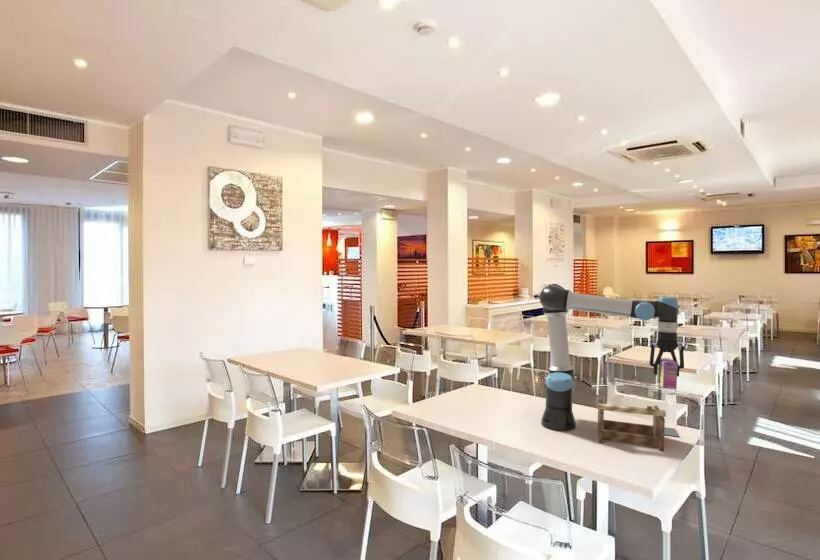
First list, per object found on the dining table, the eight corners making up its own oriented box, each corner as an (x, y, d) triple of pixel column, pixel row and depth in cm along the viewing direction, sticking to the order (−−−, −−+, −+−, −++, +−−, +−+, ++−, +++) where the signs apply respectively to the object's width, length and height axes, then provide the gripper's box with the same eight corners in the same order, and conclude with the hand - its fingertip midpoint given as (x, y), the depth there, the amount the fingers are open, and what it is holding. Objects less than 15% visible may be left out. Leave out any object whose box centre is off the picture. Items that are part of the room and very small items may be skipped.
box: (677, 389, 205) (677, 362, 204) (662, 388, 206) (663, 361, 205) (669, 383, 215) (669, 357, 214) (655, 382, 216) (656, 357, 216)
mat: (653, 434, 207) (653, 433, 207) (650, 426, 218) (650, 425, 218) (679, 437, 204) (679, 436, 204) (674, 429, 214) (674, 428, 214)
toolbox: (599, 442, 196) (599, 411, 195) (597, 427, 215) (598, 399, 214) (663, 451, 187) (664, 419, 187) (656, 435, 206) (657, 405, 206)
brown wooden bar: (597, 409, 198) (597, 402, 198) (597, 407, 201) (597, 400, 201) (665, 416, 189) (665, 409, 189) (664, 414, 192) (664, 407, 192)
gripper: (644, 331, 210) (643, 382, 210) (693, 333, 203) (692, 386, 203) (642, 329, 217) (641, 378, 217) (690, 331, 210) (688, 383, 210)
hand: (665, 382), depth 210 cm, fingers closed on box, 6 cm apart
